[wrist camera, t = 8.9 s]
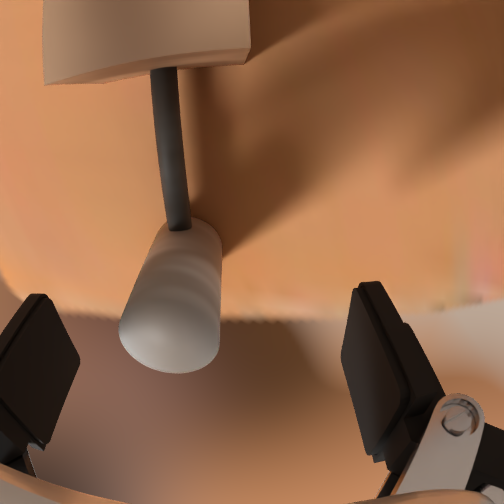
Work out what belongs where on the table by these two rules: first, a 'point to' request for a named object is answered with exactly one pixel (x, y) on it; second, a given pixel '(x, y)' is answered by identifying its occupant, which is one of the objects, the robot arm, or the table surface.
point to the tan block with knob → (169, 153)
